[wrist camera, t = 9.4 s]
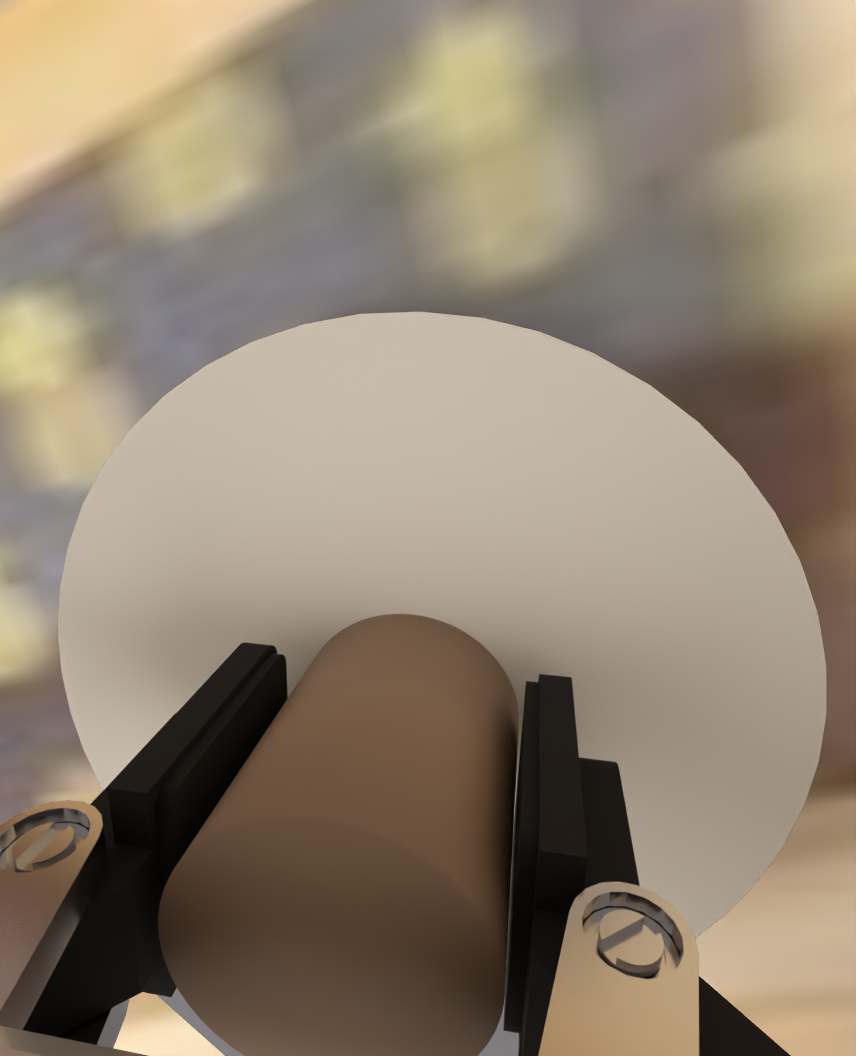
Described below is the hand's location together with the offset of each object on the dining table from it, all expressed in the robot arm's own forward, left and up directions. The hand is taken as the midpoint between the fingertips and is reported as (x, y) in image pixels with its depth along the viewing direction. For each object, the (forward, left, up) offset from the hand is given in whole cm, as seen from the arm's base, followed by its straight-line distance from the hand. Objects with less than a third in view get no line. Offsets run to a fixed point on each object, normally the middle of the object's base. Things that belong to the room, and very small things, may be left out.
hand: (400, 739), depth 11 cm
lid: (0, 0, -2) cm, 2 cm away
